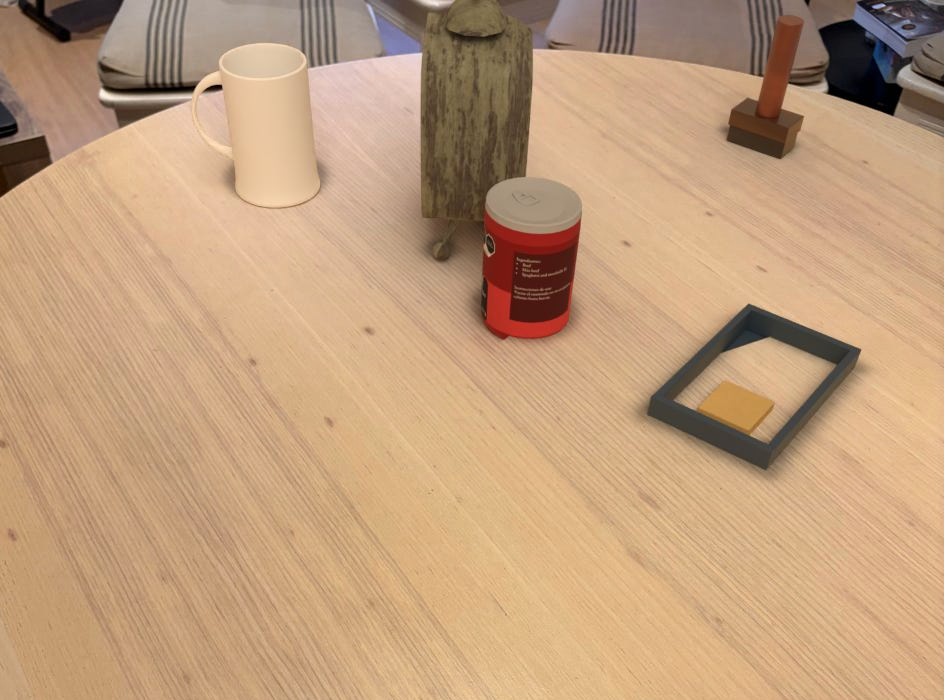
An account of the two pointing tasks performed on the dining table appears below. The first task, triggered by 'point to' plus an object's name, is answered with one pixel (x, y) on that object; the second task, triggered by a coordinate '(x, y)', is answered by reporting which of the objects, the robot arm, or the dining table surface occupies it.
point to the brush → (771, 98)
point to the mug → (266, 123)
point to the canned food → (529, 257)
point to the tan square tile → (736, 407)
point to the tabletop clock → (472, 109)
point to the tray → (735, 334)
